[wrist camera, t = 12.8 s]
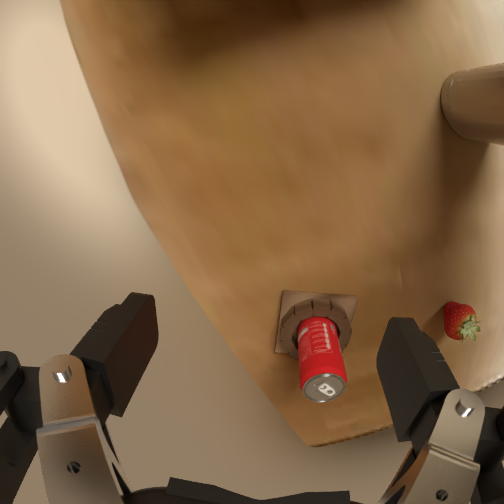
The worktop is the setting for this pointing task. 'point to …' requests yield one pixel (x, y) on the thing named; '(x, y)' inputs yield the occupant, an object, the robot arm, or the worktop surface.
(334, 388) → the beverage can
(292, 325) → the holder
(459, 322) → the fruit
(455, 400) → the robot arm
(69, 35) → the worktop surface
